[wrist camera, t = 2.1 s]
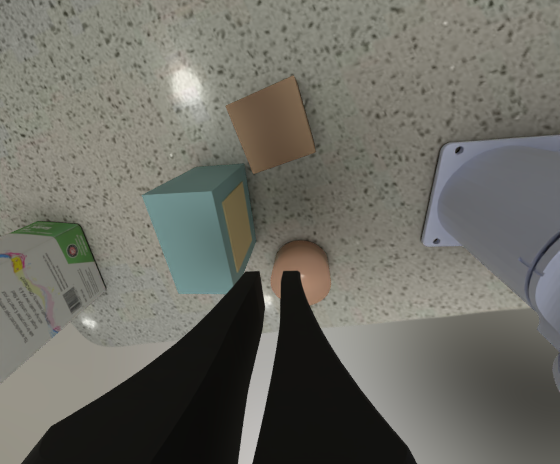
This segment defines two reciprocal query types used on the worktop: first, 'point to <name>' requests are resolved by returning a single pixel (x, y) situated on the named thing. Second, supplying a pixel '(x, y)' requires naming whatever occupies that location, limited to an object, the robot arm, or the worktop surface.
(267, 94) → the walnut cube
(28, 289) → the ink box
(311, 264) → the peach rounded dome
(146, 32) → the worktop surface
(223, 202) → the teal block
